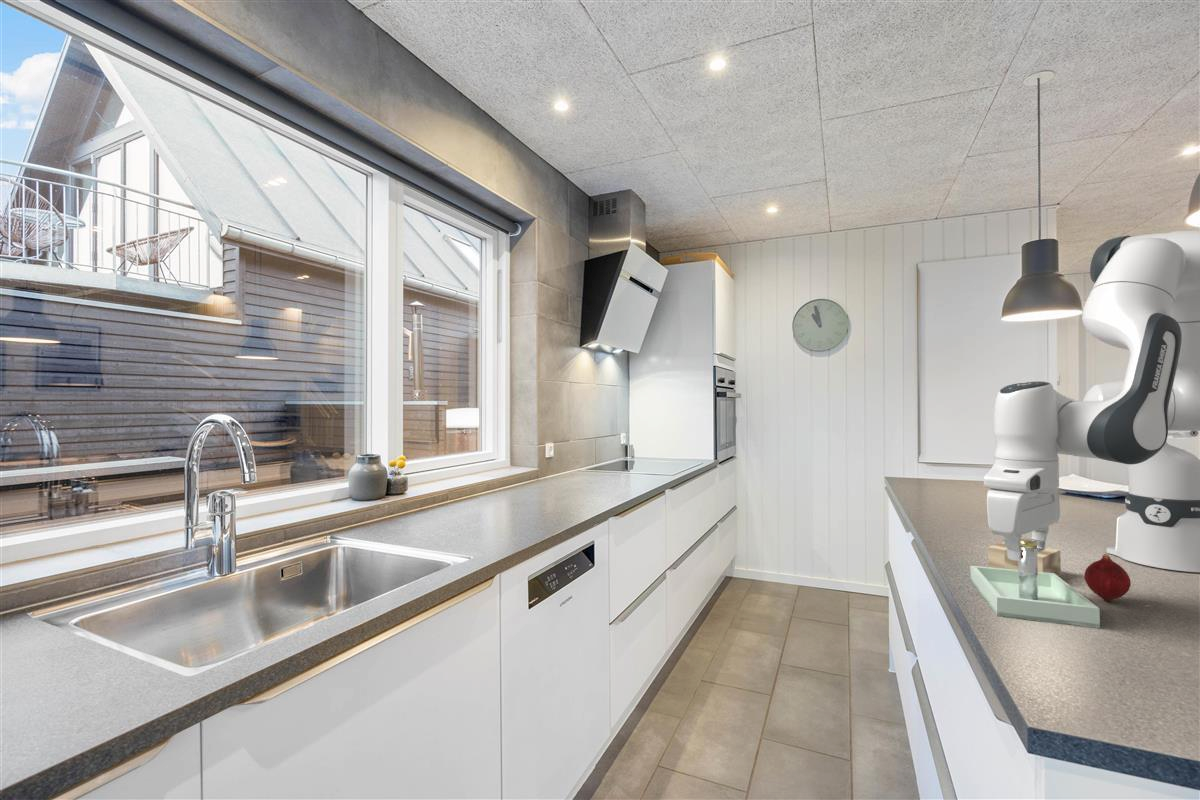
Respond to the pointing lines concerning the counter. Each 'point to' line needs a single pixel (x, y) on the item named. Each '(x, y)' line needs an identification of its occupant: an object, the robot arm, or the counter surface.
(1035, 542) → the steel pin
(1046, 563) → the hitch block
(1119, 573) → the onion
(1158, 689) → the counter surface
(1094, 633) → the counter surface
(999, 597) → the tray
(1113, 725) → the counter surface
